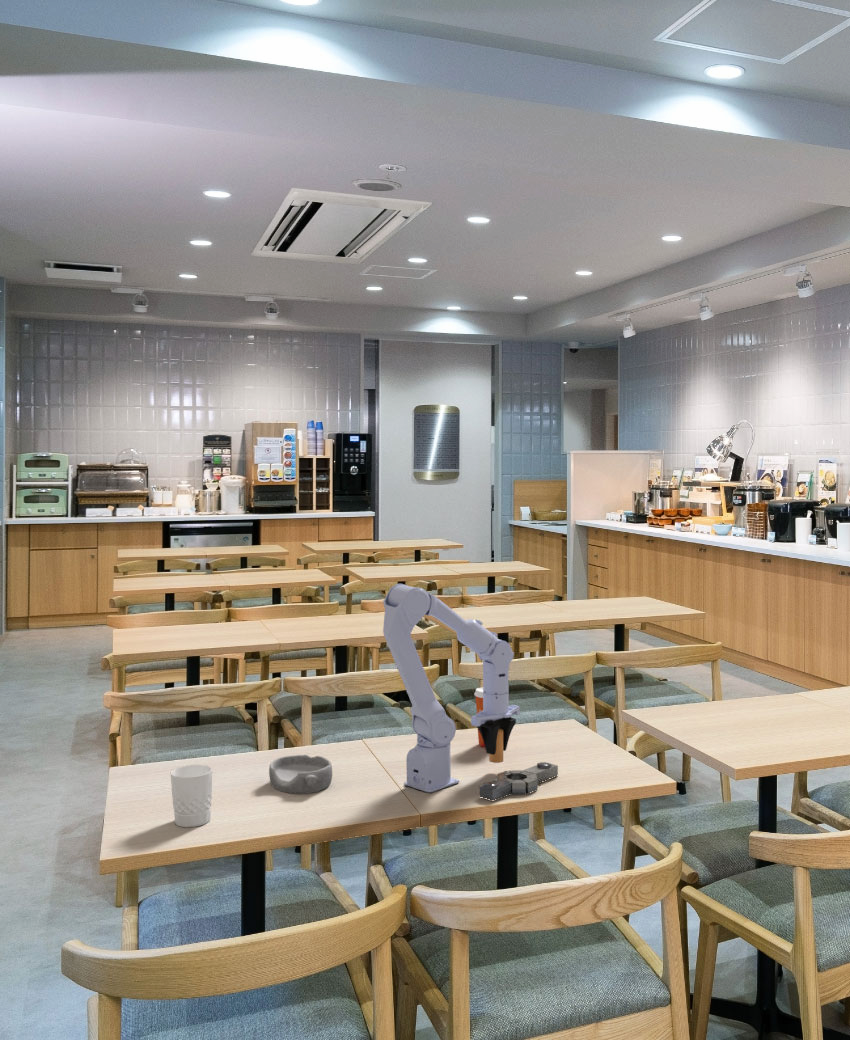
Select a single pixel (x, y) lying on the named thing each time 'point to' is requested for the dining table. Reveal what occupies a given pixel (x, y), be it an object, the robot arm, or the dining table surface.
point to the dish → (300, 774)
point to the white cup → (191, 794)
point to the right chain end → (529, 775)
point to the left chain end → (501, 789)
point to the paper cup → (479, 710)
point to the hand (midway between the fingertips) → (496, 751)
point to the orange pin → (498, 749)
